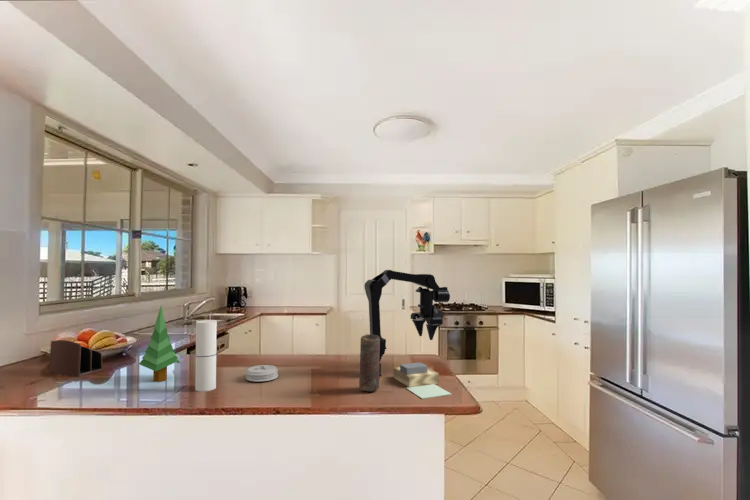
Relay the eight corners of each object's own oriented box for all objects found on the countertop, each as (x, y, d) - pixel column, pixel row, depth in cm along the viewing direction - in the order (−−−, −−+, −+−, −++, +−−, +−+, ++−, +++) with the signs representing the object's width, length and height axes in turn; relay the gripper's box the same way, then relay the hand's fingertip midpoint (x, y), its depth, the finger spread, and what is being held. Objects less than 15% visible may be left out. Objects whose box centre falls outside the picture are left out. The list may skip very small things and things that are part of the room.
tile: (407, 374, 154) (406, 368, 155) (400, 370, 160) (400, 364, 160) (427, 372, 158) (427, 366, 158) (420, 368, 163) (420, 362, 164)
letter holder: (78, 377, 165) (78, 342, 165) (48, 372, 172) (49, 339, 173) (102, 371, 174) (103, 338, 174) (73, 366, 182) (74, 335, 182)
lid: (238, 381, 160) (238, 368, 160) (261, 373, 172) (261, 361, 172) (262, 385, 154) (262, 372, 155) (284, 377, 166) (284, 365, 166)
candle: (382, 388, 151) (382, 334, 151) (376, 394, 144) (376, 338, 144) (363, 386, 153) (363, 333, 154) (356, 392, 146) (356, 337, 147)
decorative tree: (132, 380, 160) (133, 305, 160) (173, 372, 171) (174, 302, 172) (144, 388, 150) (145, 308, 151) (187, 379, 162) (188, 304, 162)
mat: (422, 399, 139) (422, 398, 139) (406, 388, 150) (406, 387, 150) (451, 394, 144) (451, 393, 144) (434, 384, 155) (434, 384, 155)
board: (409, 387, 151) (409, 377, 152) (393, 377, 164) (393, 367, 164) (439, 383, 156) (439, 373, 156) (421, 374, 169) (421, 364, 169)
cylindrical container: (195, 392, 146) (196, 323, 146) (194, 387, 152) (195, 320, 153) (217, 389, 149) (217, 322, 149) (214, 384, 155) (215, 319, 156)
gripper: (453, 304, 172) (453, 341, 172) (431, 300, 189) (430, 333, 189) (431, 304, 168) (430, 342, 167) (410, 300, 185) (409, 334, 185)
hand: (425, 338), depth 177 cm, fingers open, 9 cm apart
